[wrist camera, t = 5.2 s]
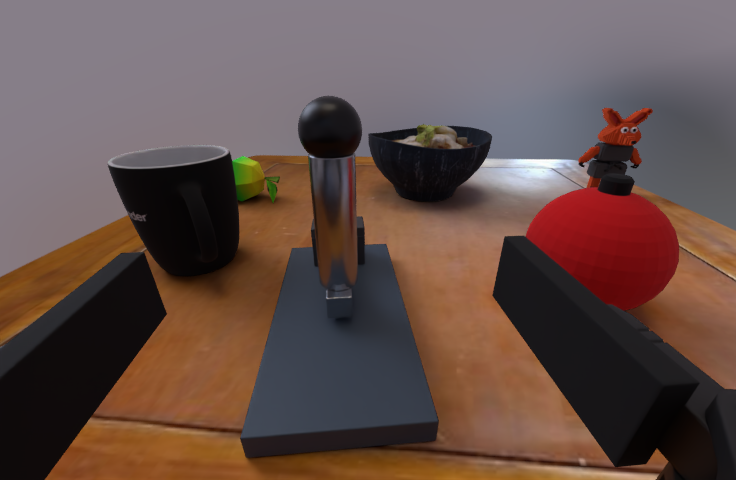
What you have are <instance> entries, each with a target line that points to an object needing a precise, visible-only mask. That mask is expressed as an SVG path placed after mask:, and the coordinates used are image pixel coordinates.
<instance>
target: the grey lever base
mask: <svg viewBox="0 0 736 480" xmlns="http://www.w3.org/2000/svg"><path fill="white" fill-rule="evenodd" d="M311 235H312V246H313V247H307V248H292V251H291V254H290V258H289V262H288V265H287V269H286V273H285V276H284V280H283V284H282V287H281V291H280V295H279V298H278V302H277V306H276V309H275V313H274V317H273V320H272V324H271V328H270V331H269V335H268V339H267V342H266V346H265V350H264V353H263V357H262V361H261V364H260V368H259V372H258V375H257V379H256V383H255V386H254V390H253V394H252V397H251V401H250V405H249V408H248V412H247V416H246V419H245V423H244V427H243V430H242V434H241V438H240V439H241V443H242V446H243V449H244V452H245V456H246V458H251V457H261V456H272V455H283V454H294V453H305V452H316V451H327V450H338V449H349V448H359V447H370V446H381V445H392V444H403V443H414V442H425V441H435V440H436V436H437V430H438V423H439V420H438V417H437V413H436V410H435V407H434V403H433V400H432V396H431V393H430V390H429V386H428V383H427V380H426V376H425V373H424V370H423V366H422V363H421V359H420V356H419V353H418V349H417V346H416V343H415V339H414V336H413V333H412V329H411V326H410V322H409V319H408V316H407V312H406V309H405V306H404V302H403V299H402V296H401V292H400V289H399V285H398V282H397V279H396V275H395V272H394V269H393V265H392V262H391V259H390V255H389V252H388V248H387V245H386V244H373V245H365V236H364V235H365V232H364V223H363V217H357V253H358V281H357V283H356V284H355V285H354V286H353V287H351V291H352V313H353V316H352V317H344V318H328V316H327V304H326V291H327V289H326V288H324V287H323V286H322V285H321V284H320V282H319V271H318V260H317V249H316V238H315V227H314V219H313V222H312V227H311Z"/></svg>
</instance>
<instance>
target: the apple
mask: <svg viewBox="0 0 736 480" xmlns="http://www.w3.org/2000/svg"><path fill="white" fill-rule="evenodd" d="M232 164H233V170H234V176H235V183H236V191H237V200H239V201H244V200H246V199H249V198H251V197H253V196H256V195H258V194H259V193H260V192H261V191H263V190H264V181H265V179H266V180H267V187H268V191H269V194H270V197H271V199H272V202H274V199H275V196H276V193H277V187H276V185H275V184H274V183H272V182H270V181H273V182H277V183H278V182H279V179H280V177H264V173H263V171H262V169H261V167H260V165H259V162H256V161H254V160H251V159H249V158H246V157H244V156H242V157H240V158H238V159H236V160H234V161H232ZM269 180H270V181H269Z"/></svg>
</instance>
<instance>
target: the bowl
mask: <svg viewBox="0 0 736 480" xmlns="http://www.w3.org/2000/svg"><path fill="white" fill-rule="evenodd" d="M491 140H492V136H491V134H489V133H488V132H486V131H483V130H479V129H475V128H469V127H458V126H431V125H428V126H426V125H424V124H423V125H421V126H420V125H419V126H418V127H417V128H413V129H405V130H397V131H391V132H384V133H370V134H369V147H370V151H371V154H372V157H373V160H374V162H375V164H376V166H377V167H378V169H379V170H380V171H381V172H382V174H383V175H384V176H385V177H386V178H387V179H388V180H389V181H390V182H391V183H392V184H393V185H394V187H395V190H396V192H397V193H398V194H399V195H400V196H402V197H404V198H406V199H411V200H416V201H439V200H444V199H447V198H449V197H451V196H452V194H453V193H454V191H455V190H456V188H457V187H458V186H460V185H461V184H462V183H464V182H465V181H467V180H468V179H469V178H470V177H471V176H472V175H473V174H474V173H475V172H476V171H477V170H478V169H479V167H480V166H481V165H482V163H483V162H484V160H485V159H486V157H487V154H488V152H489V149H490V144H491Z"/></svg>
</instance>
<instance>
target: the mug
mask: <svg viewBox="0 0 736 480" xmlns="http://www.w3.org/2000/svg"><path fill="white" fill-rule="evenodd" d="M108 167H109V170H110V173H111V176H112V178H113V181H114V183H115V186H116V188H117V191H118V193H119V195H120V197H121V199H122V202H123V204H124V206H125V208H126V210H127V212H128V215H129V217H130V219H131V221H132V223H133V225H134V227H135V229H136V230H137V232H138V234H139V236H140V238H141V239H142V241H143V243H144V245H145V246H146V248H147V249H148V251H149V253H150V254H151V255H152V257H153V258H154V260H155V261H156V262H157V263H158V264H159V265H160V266H161V267H162V268H163V269H164V270H165V271H167V272H169V273H171V274H174V275H178V276H193V275H200V274H204V273H208V272H211V271H214V270H217V269H219V268H221V267H223V266H225V265H226V264H228V263H229V262H230V261H231V260H232V259H233V258H234V256H235V254H236V252H237V249H238V244H239V211H238V200H237V191H236V183H235V176H234V170H233V164H232V159H231V155H230V151H229V150H228V149H226V148H224V147H219V146H207V145H189V146H172V147H163V148H154V149H147V150H142V151H136V152H131V153H127V154H123V155H120V156H117V157H114V158H112V159H111V160H109V162H108Z"/></svg>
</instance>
